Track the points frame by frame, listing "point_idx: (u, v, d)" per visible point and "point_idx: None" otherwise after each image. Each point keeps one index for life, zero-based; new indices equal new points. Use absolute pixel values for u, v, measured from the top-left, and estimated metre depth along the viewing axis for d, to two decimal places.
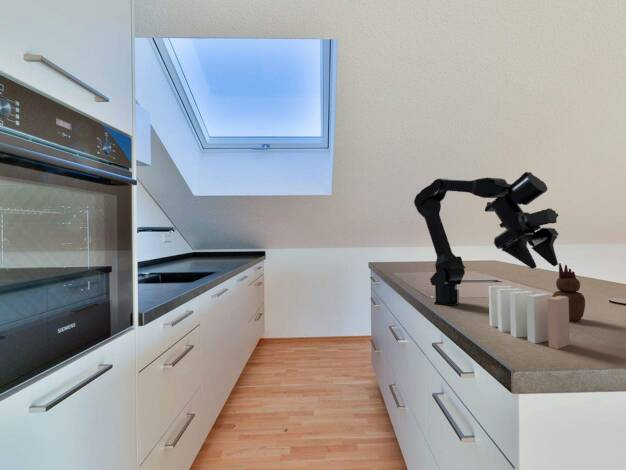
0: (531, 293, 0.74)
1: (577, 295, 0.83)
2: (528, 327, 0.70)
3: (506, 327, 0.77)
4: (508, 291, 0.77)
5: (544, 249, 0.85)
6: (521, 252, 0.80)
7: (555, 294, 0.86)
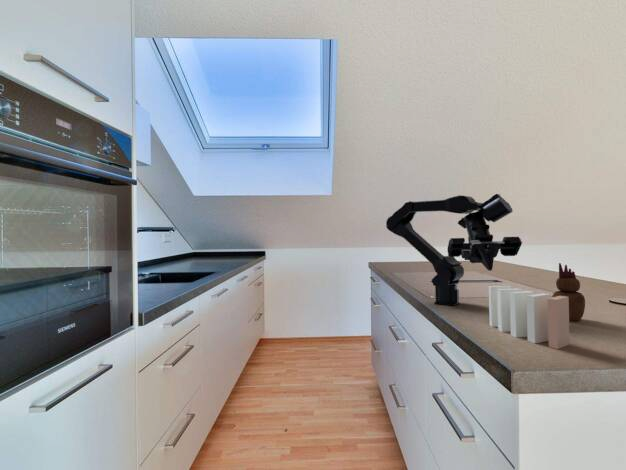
0: (531, 293, 0.74)
1: (577, 295, 0.83)
2: (528, 327, 0.70)
3: (506, 327, 0.77)
4: (508, 291, 0.77)
5: None
6: None
7: (555, 294, 0.86)
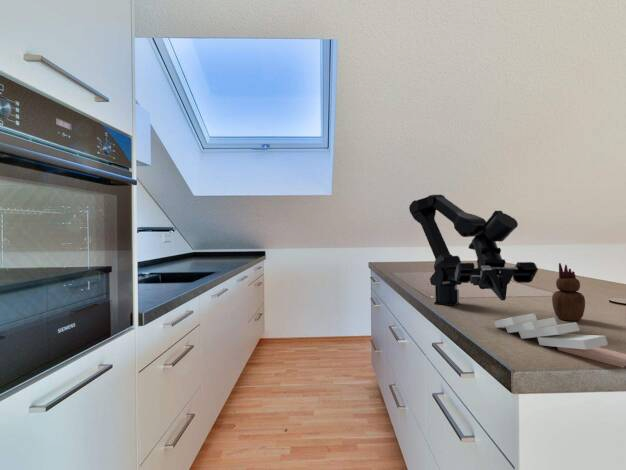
0: None
1: (577, 295, 0.83)
2: (550, 339, 0.65)
3: None
4: (541, 327, 0.67)
5: None
6: None
7: (555, 294, 0.86)
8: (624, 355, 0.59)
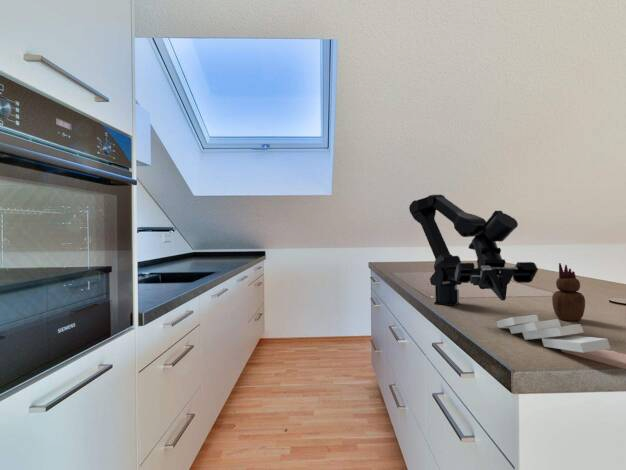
0: None
1: (577, 295, 0.83)
2: (552, 341, 0.64)
3: None
4: None
5: None
6: None
7: (555, 294, 0.86)
8: None
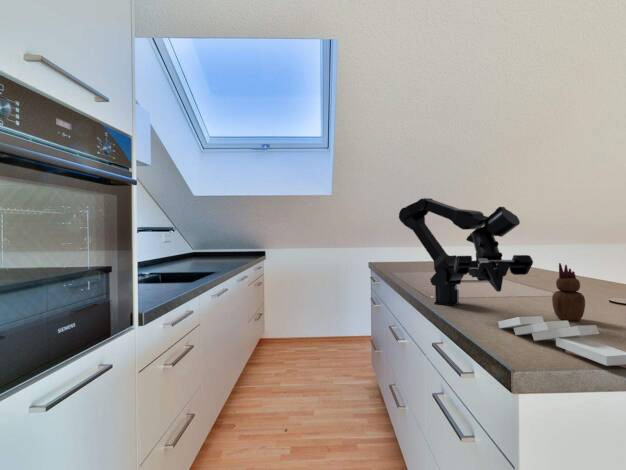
0: (595, 333, 0.62)
1: (577, 295, 0.83)
2: (569, 344, 0.62)
3: (523, 334, 0.74)
4: None
5: None
6: None
7: (555, 294, 0.86)
8: None
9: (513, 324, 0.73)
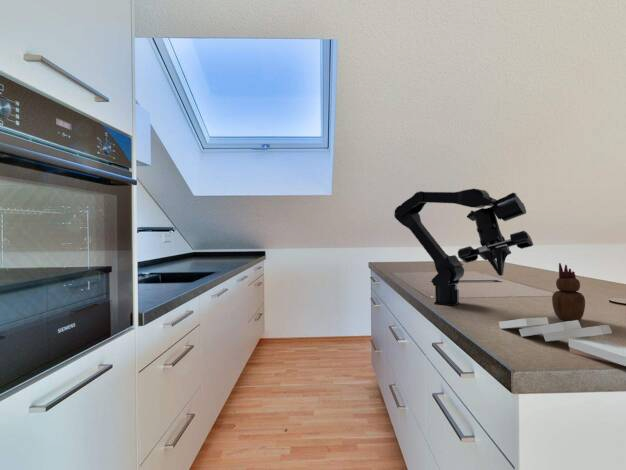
0: None
1: (577, 295, 0.83)
2: (584, 345, 0.61)
3: None
4: (569, 329, 0.65)
5: (494, 259, 0.92)
6: (502, 259, 0.91)
7: (555, 294, 0.86)
8: None
9: (518, 325, 0.73)
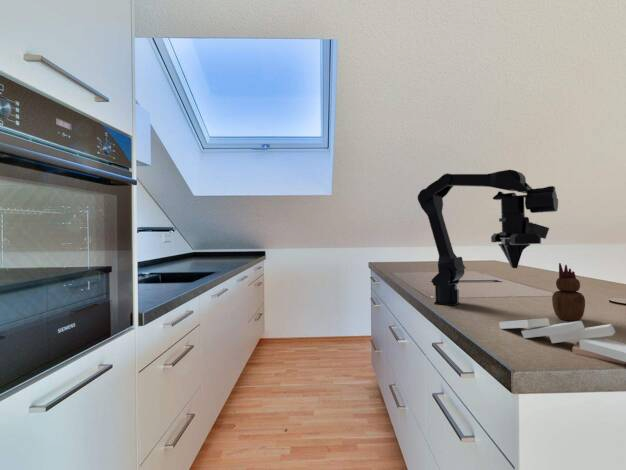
0: (613, 332, 0.64)
1: (577, 295, 0.83)
2: (597, 346, 0.60)
3: None
4: (574, 331, 0.65)
5: None
6: (516, 253, 0.92)
7: (555, 294, 0.86)
8: None
9: (519, 326, 0.73)
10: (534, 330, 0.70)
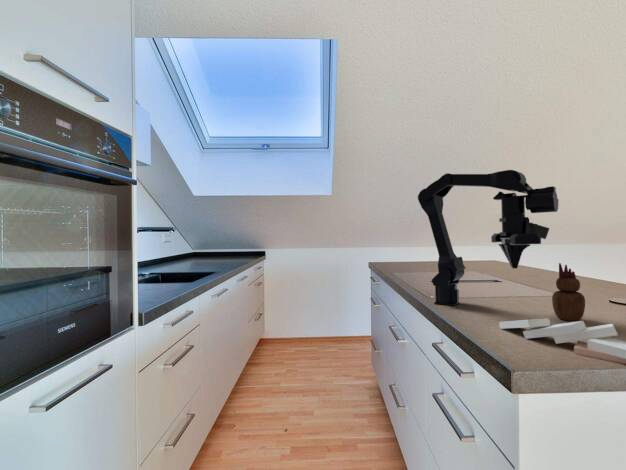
0: None
1: (577, 295, 0.83)
2: (607, 346, 0.59)
3: None
4: (577, 331, 0.65)
5: None
6: (516, 253, 0.92)
7: (555, 294, 0.86)
8: None
9: (519, 326, 0.73)
10: (536, 330, 0.70)
